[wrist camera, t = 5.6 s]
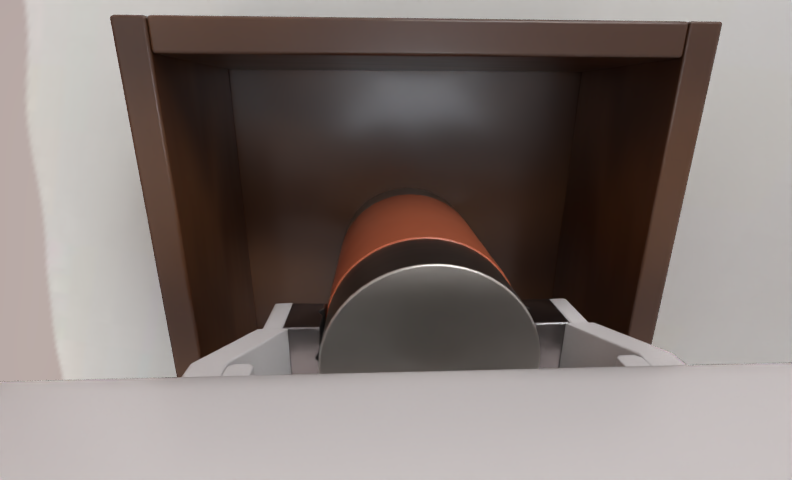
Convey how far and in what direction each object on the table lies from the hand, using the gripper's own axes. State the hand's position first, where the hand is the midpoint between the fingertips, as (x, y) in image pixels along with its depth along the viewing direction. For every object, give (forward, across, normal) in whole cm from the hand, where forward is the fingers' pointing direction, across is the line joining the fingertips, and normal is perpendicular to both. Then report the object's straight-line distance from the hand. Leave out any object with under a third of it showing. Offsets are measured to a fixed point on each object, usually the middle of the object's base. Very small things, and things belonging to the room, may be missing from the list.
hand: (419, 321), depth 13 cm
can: (+6, 0, 0) cm, 6 cm away
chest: (+7, 0, 0) cm, 7 cm away
